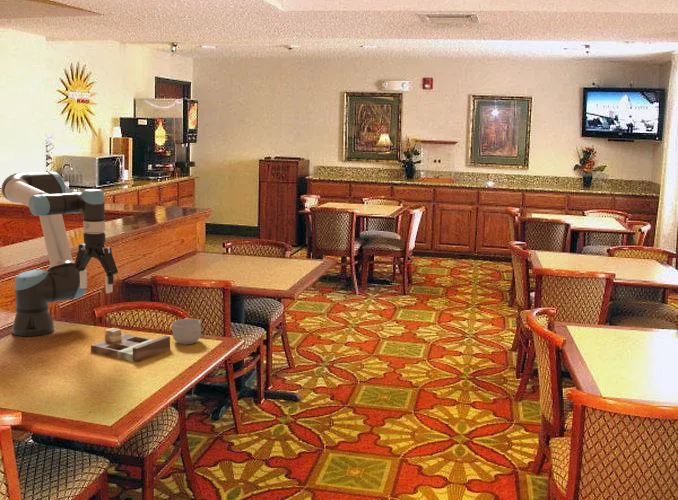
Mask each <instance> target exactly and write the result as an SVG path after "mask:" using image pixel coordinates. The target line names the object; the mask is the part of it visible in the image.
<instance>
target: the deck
mask: <svg viewBox="0 0 678 500" xmlns="http://www.w3.org/2000/svg"><path fill="white" fill-rule="evenodd" d="M170 350H171V336H170V335H163V336H161V337H158V338H156V339H152V338H148V337H143V336H138V335H134V334H129V333H121V340H119V341H116V342H109V341H105V339H104V340H102V341H99V342H96V343H92V344H90V352H91V353H94V354H99V355H103V356H107V357H112V358H114V359H115V358H117V359H120V360H124V361H125V360H126V361H129V362H133V363H140V362H142V361H145V360H148V359H150V358H152V357H155V356H157V355H160V354H162V353H163V354H164V353H165V352H167V351H170Z"/></svg>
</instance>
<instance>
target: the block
mask: <svg viewBox="0 0 678 500" xmlns="http://www.w3.org/2000/svg"><path fill="white" fill-rule="evenodd" d="M121 335H122V329H121V328H117V327H110V328H108V329H105V330H104V340H105V341H109V342H116V341H119V340H121Z"/></svg>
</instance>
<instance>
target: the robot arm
mask: <svg viewBox="0 0 678 500" xmlns="http://www.w3.org/2000/svg"><path fill="white" fill-rule="evenodd" d="M65 183H66V182H64V179H63V177H62V176H61V174H59V173H58V172H56V171H48V170H46V171H45V170H44V171H29V172H22V171H21V172H16V173H13V174H11V175H9V176H7V177H6V178H5V179H4V180H3V182H2V184H1V193H2V195H3V197H4V198H5V199H6V200H8V201H9V202H11V203H15V204H22V205H24V206H26V207H28V209H29V211H30V213H31V215H33V216H37V217H39V220H40V225H41V229H42V233H43V234H42V235H43V239H44V242H45V247H46V252H47V256H48V261H49V266H48V268H47V270H45V269H31V270H26V271H23V272H21V273H19V274H18V275H16V276H15V278H14V286H13V289H14V296H15V317H14V320H13V324H12V327H11V329H12V334H13V335H14V336H19V337H37V336H43V335H46V334H50V333H53V331H55V323H54V320H53V318H52V316H51V313H50V311H49V303H56V302H62V301H64V302H65V301H72V300H75V299H79V298H82V297H83V296H84V295H85V293H86V291H87V288H88V274H87V273H88V271H87V266H88V264H89V263H90V261H91V259H92V258H94V259H96V260H98V261H99V262H100V264H101V266H102V268H103V270H104V271H105V273H106V274H105V275H104V278H105V282H104V283H105V286H104V287H105V294H110V293H113V291H114V290H113V287H114V286H113V285H114V275H116V274H119V272H118V271H119V270H118V268H117V265H116V262H115V259H114V256H113V253H112V252H113V251H112V247H111V246H109V247H105V243H106V241H107V240H106V232H105V231H106V216H105V213H106V212H105V209H106V207H105V203H106V199H105V193H104V191H103V189H100V188H99V189H97V188H87V189H86V188H85V189H83V191H79V190H77V191H73V192H66V189H67V188H66V184H65ZM66 214H67V215H68V214H69V215H70V214H82V221H83V223H82V224H83V227H82V228H83V232H84V233H83V243H79V244H78V251H77V254H76V259H75V261H74V259H73V256H72V252H71V248H70V242H69V240H68V235H67V230H66V227H65V226H66V225H65V222H64V218H63V215H66Z"/></svg>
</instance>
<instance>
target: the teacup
mask: <svg viewBox="0 0 678 500" xmlns="http://www.w3.org/2000/svg"><path fill="white" fill-rule="evenodd" d="M201 326H202V322H201V320H200V319H199V318H189V317H185V318H181V319H177V320H175V321H173V322H172V323H171V328H172V330H171V331H172V337H173V340H174V341H175V342H177V344H179V345H184V346H185V345H186V346H187V345H192V344H195V343H197V342H198V341H199V339H200V338H201V336H202V327H201Z"/></svg>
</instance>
